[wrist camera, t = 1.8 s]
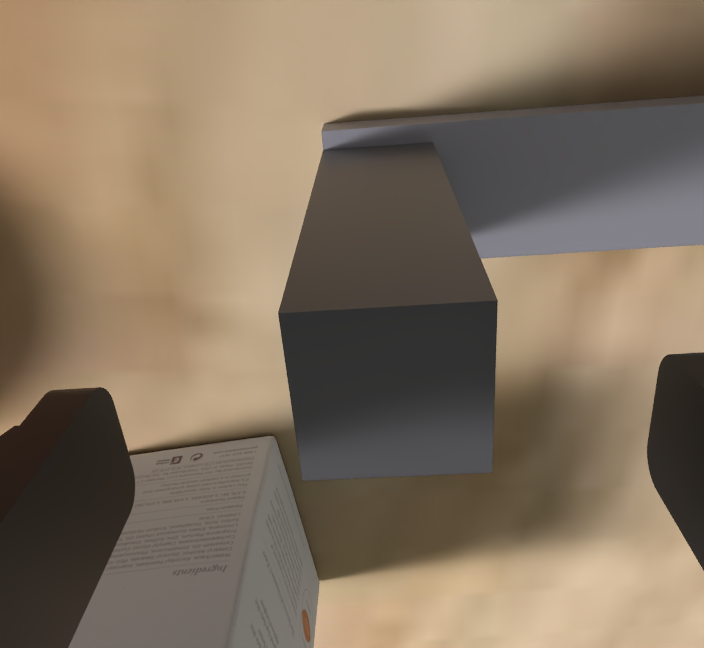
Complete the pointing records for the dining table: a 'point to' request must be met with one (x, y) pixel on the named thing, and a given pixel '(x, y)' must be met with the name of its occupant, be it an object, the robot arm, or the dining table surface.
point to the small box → (207, 556)
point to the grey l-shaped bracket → (457, 263)
